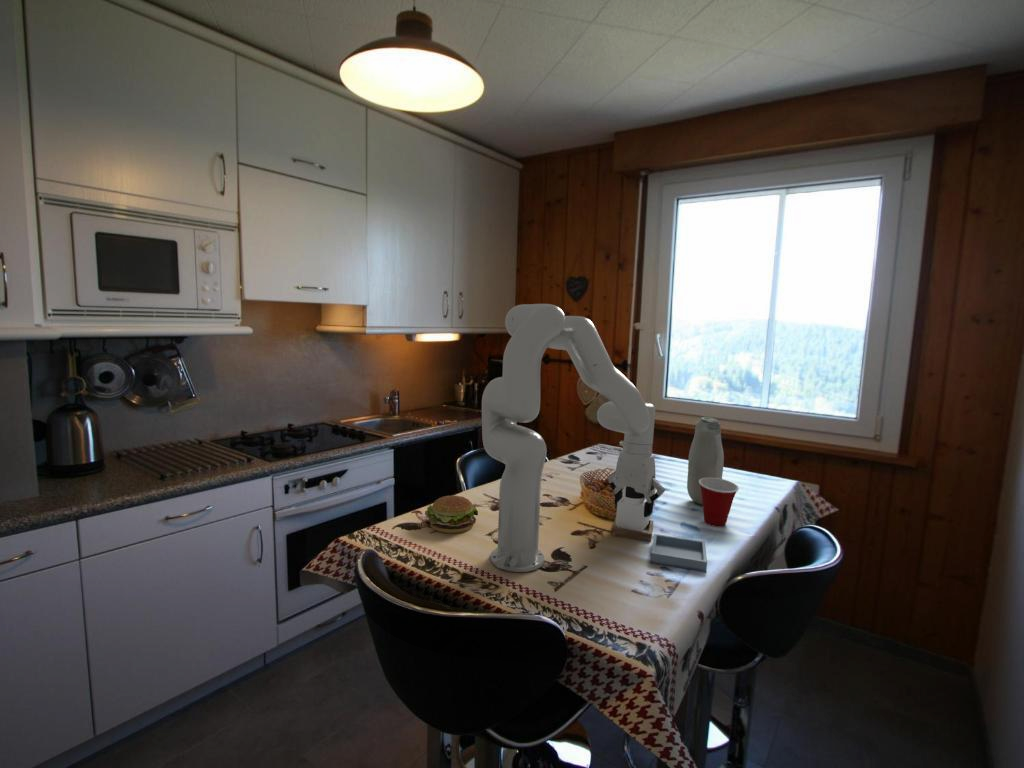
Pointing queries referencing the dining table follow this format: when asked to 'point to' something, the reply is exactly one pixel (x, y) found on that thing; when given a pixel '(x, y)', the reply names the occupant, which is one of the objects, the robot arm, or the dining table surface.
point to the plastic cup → (717, 499)
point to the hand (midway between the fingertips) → (632, 511)
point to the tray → (679, 553)
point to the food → (451, 514)
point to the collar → (633, 532)
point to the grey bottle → (704, 456)
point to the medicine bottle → (631, 511)
